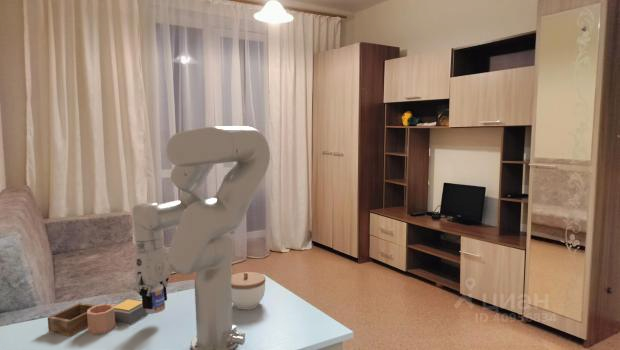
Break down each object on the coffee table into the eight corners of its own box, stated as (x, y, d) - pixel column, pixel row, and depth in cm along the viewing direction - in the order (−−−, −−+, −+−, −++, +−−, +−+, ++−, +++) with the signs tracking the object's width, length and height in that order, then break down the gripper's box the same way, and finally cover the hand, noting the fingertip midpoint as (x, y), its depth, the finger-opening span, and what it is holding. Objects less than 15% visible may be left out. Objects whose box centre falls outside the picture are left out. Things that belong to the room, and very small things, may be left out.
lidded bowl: (232, 297, 143) (231, 266, 142) (268, 297, 143) (267, 266, 142) (223, 313, 131) (221, 279, 130) (262, 313, 130) (262, 279, 129)
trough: (102, 319, 127) (101, 306, 127) (70, 336, 117) (69, 321, 117) (81, 315, 130) (80, 302, 130) (48, 331, 120) (47, 317, 120)
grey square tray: (150, 312, 132) (150, 301, 132) (129, 324, 124) (129, 313, 123) (128, 308, 135) (127, 298, 135) (106, 320, 127) (105, 309, 126)
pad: (144, 304, 131) (144, 301, 131) (129, 313, 125) (128, 310, 125) (128, 302, 133) (128, 299, 133) (112, 310, 127) (112, 307, 127)
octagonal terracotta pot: (120, 325, 124) (119, 305, 123) (101, 336, 117) (100, 315, 116) (102, 321, 126) (101, 302, 125) (83, 332, 119) (81, 312, 119)
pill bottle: (159, 314, 121) (155, 281, 120) (142, 314, 122) (139, 281, 121) (168, 307, 126) (166, 275, 125) (152, 306, 127) (150, 275, 126)
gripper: (138, 252, 113) (144, 317, 114) (178, 238, 129) (183, 294, 130) (117, 252, 116) (123, 315, 117) (159, 237, 132) (164, 293, 133)
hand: (155, 303), depth 124 cm, fingers closed on pill bottle, 5 cm apart
